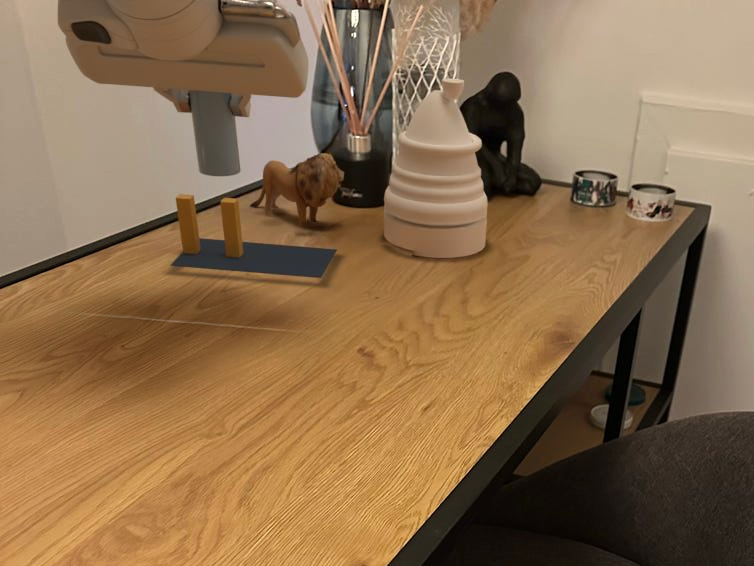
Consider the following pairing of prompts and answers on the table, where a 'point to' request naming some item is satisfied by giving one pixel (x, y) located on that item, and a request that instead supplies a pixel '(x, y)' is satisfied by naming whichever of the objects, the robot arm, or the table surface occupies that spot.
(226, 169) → the grey cylinder
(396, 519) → the table surface
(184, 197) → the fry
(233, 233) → the post
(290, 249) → the mat
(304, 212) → the lion figurine
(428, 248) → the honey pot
